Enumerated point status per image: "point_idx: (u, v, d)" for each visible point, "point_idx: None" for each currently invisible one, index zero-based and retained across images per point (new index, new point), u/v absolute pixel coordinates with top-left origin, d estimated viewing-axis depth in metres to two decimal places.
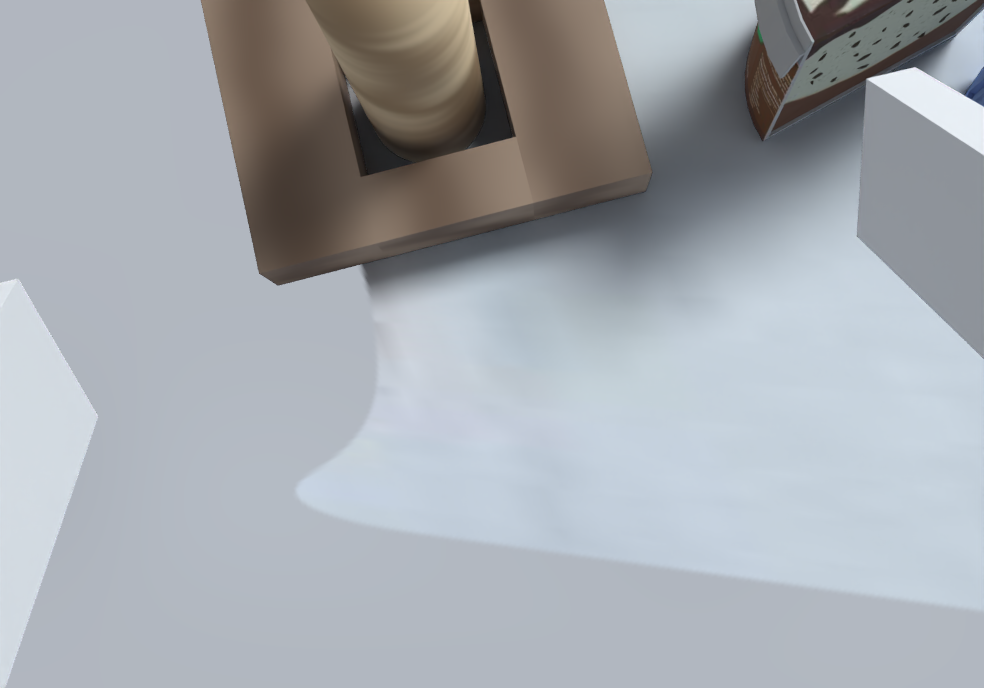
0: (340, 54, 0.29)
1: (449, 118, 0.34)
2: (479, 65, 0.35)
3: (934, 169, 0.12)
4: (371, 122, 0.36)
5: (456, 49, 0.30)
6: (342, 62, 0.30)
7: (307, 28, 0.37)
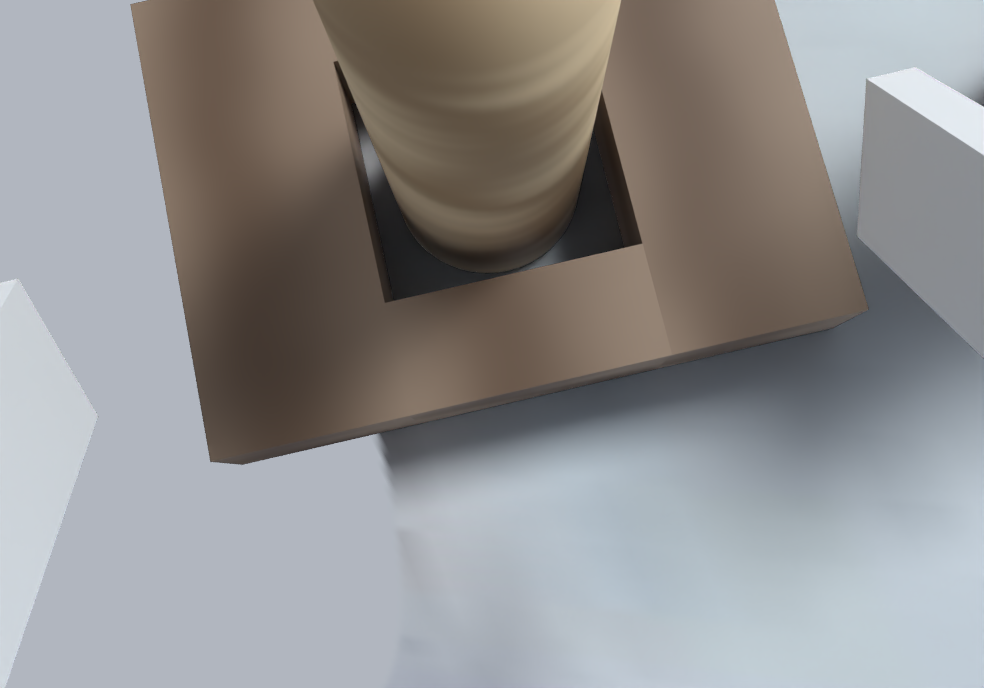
0: (374, 110, 0.15)
1: (541, 215, 0.20)
2: None
3: (935, 169, 0.12)
4: (404, 212, 0.22)
5: (587, 106, 0.16)
6: (374, 123, 0.16)
7: (303, 57, 0.23)
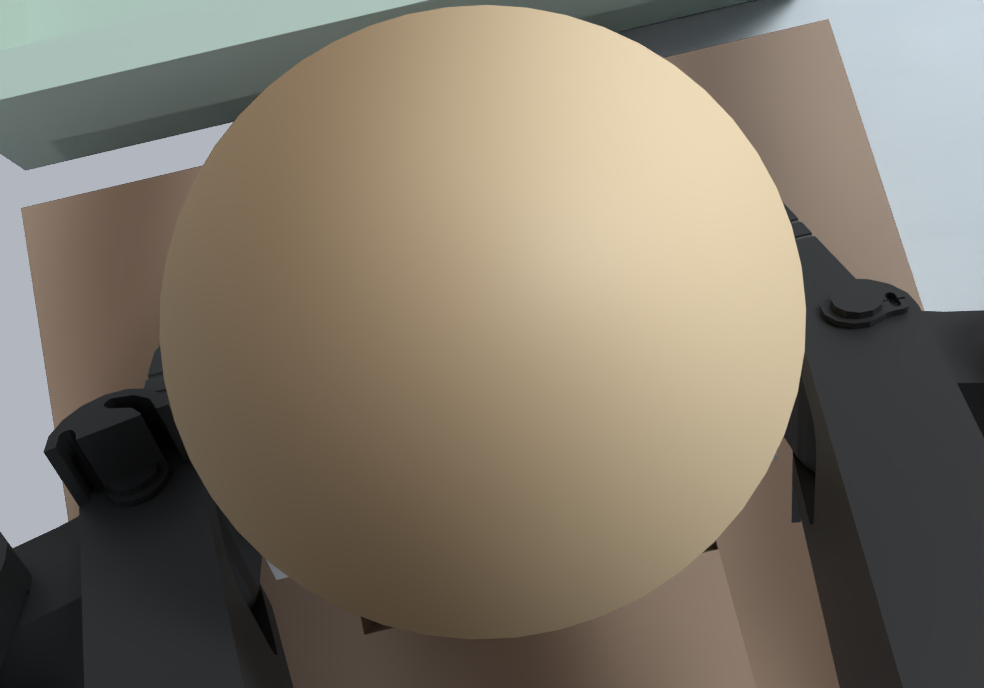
0: None
1: None
2: None
3: None
4: None
5: None
6: None
7: None
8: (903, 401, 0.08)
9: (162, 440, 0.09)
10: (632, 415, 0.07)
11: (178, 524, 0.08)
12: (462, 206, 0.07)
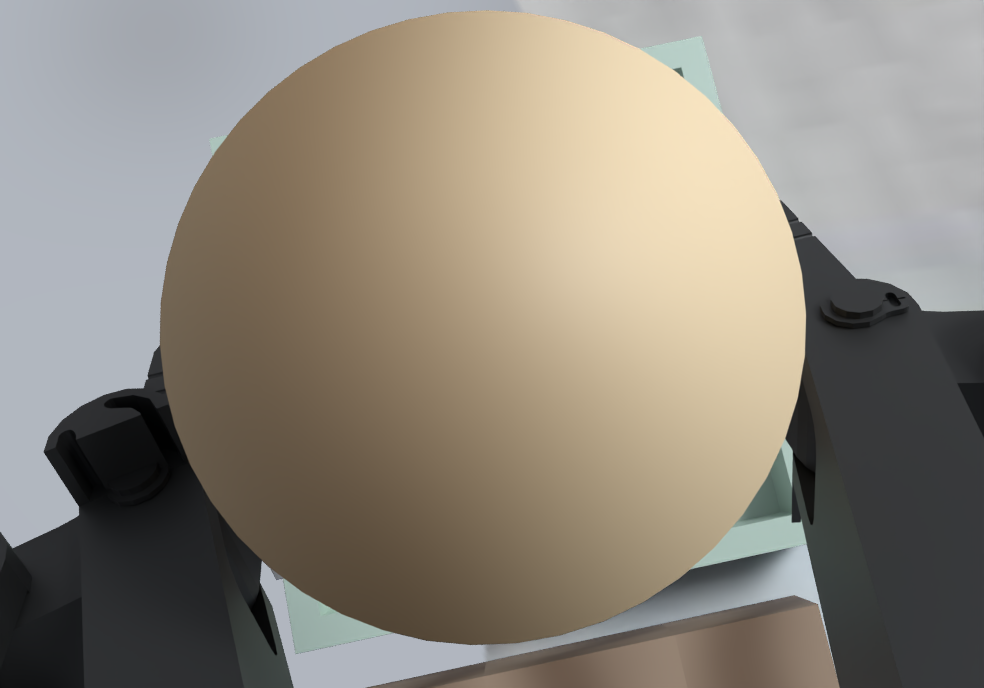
0: None
1: None
2: None
3: None
4: None
5: None
6: None
7: None
8: (903, 401, 0.08)
9: (162, 440, 0.09)
10: (633, 420, 0.07)
11: (178, 524, 0.08)
12: (464, 212, 0.07)
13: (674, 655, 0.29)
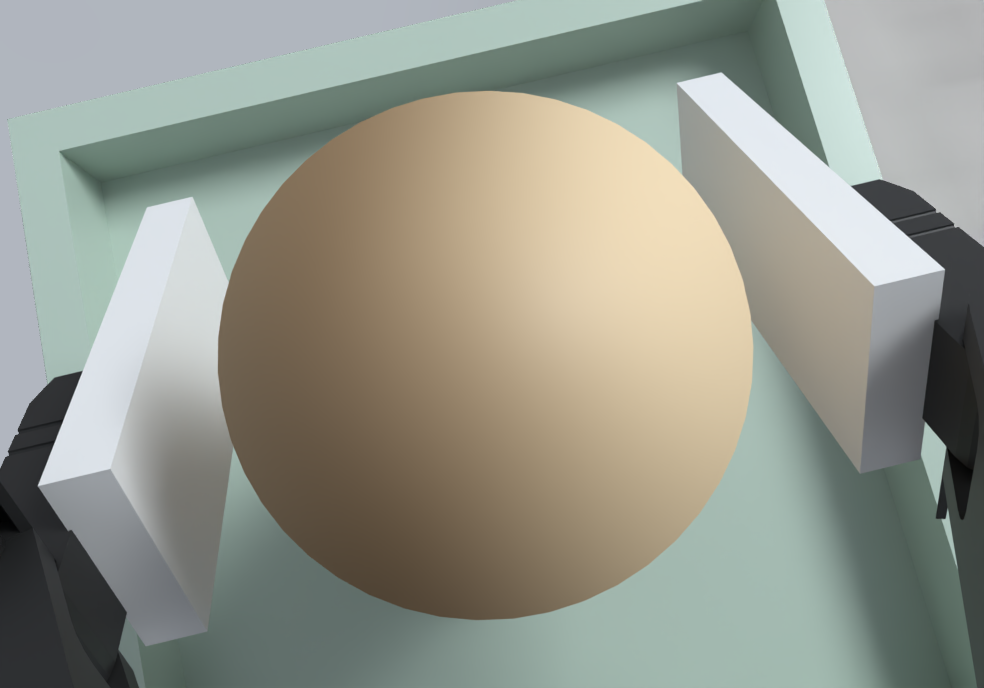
0: None
1: None
2: None
3: (720, 166, 0.13)
4: None
5: None
6: None
7: None
8: None
9: None
10: (609, 435, 0.08)
11: (15, 597, 0.08)
12: (468, 260, 0.08)
13: None
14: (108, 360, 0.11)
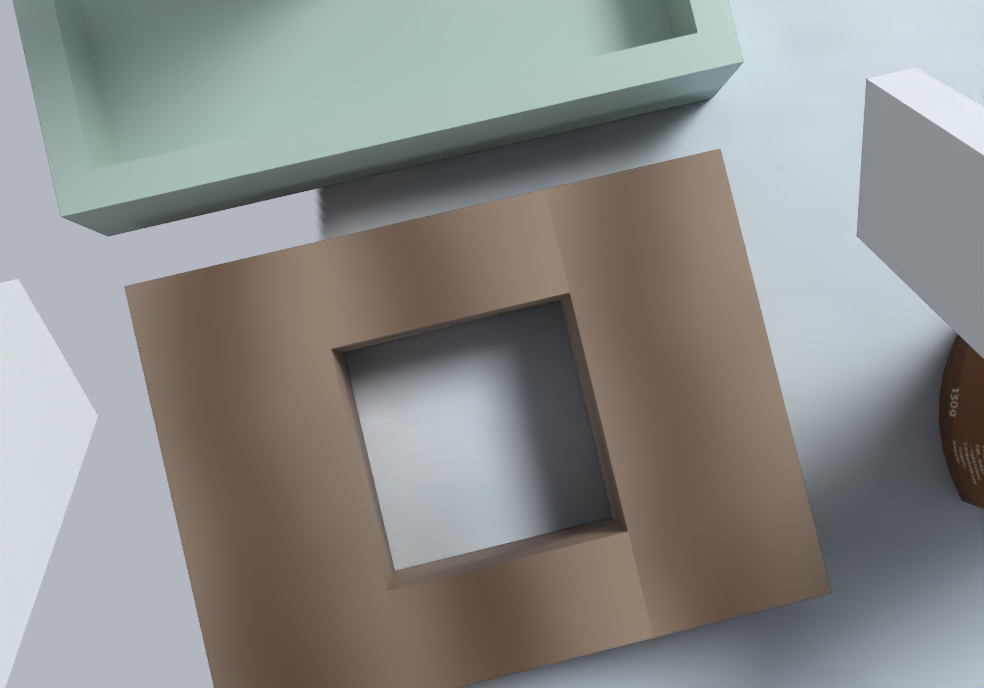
0: None
1: None
2: None
3: (934, 169, 0.12)
4: None
5: None
6: None
7: (300, 344, 0.23)
8: None
9: None
10: None
11: None
12: None
13: (544, 213, 0.24)
14: None
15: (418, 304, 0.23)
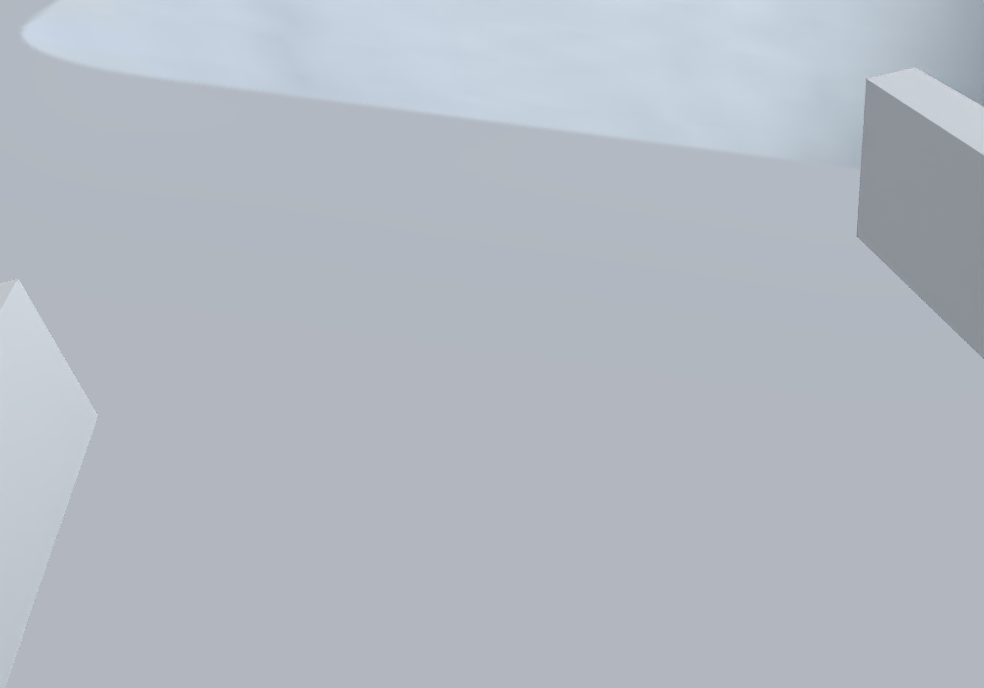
0: None
1: None
2: None
3: (934, 169, 0.12)
4: None
5: None
6: None
7: None
8: None
9: None
10: None
11: None
12: None
13: None
14: None
15: None
